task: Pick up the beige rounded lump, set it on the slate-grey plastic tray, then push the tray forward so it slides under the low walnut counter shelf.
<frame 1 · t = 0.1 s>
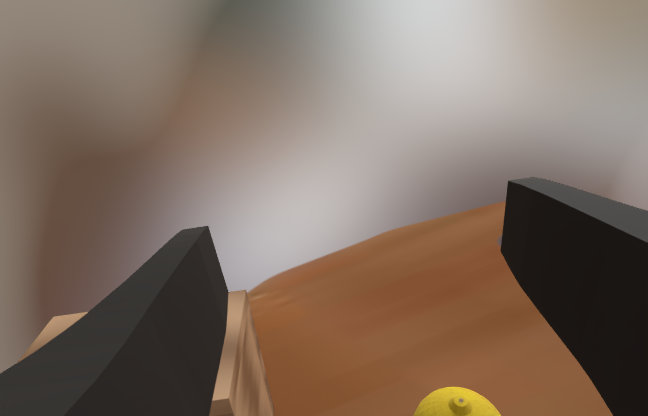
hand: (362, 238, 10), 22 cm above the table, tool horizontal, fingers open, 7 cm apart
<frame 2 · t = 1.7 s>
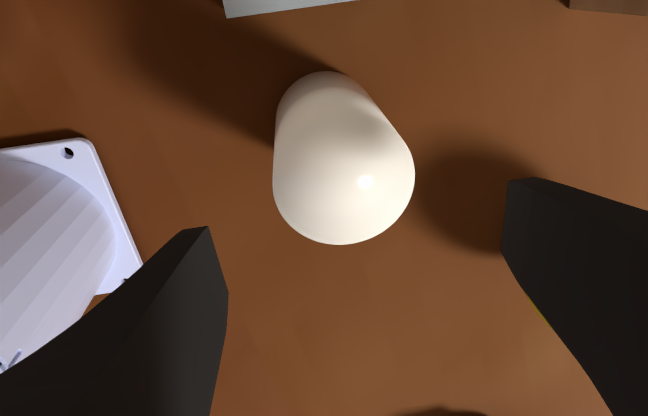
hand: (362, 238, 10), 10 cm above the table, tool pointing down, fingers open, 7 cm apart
beige rounded lump: (325, 122, 18), on the table
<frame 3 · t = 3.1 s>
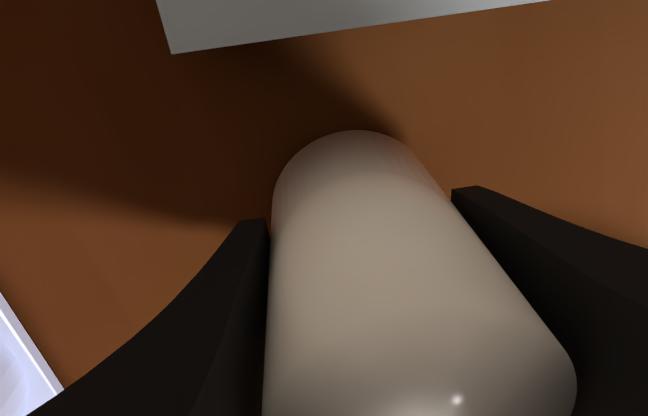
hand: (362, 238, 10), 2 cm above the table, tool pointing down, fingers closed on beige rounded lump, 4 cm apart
beige rounded lump: (352, 206, 11), on the table, touching gripper
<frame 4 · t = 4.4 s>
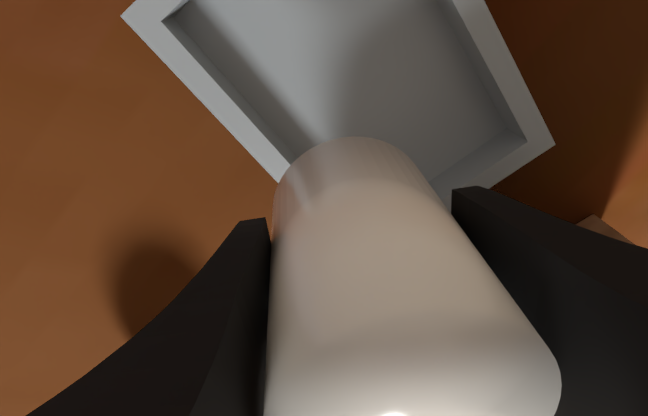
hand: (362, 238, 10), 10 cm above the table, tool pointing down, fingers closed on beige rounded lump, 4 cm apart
tray: (354, 75, 17), on the table
counter shelf: (464, 239, 22), on the table
beige rounded lump: (350, 210, 12), point 8 cm above the table, touching gripper
when the fingers open (3 cm above the table, at t = 6.0 s): beige rounded lump stays where it is, resting on tray.
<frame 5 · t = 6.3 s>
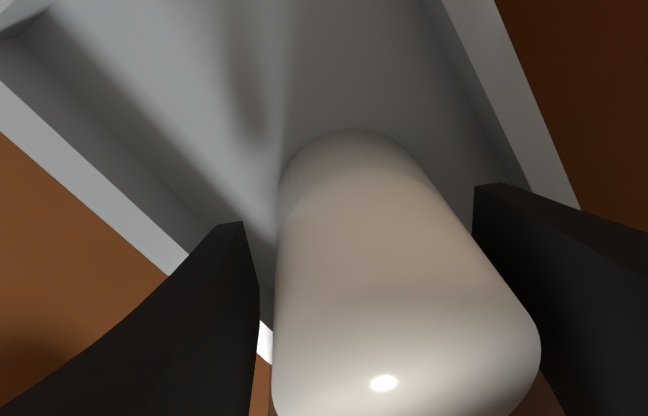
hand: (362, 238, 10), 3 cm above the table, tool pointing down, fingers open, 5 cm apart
tray: (310, 133, 12), on the table, touching beige rounded lump
counter shelf: (458, 344, 17), on the table
beige rounded lump: (351, 199, 12), point 1 cm above the table, touching tray
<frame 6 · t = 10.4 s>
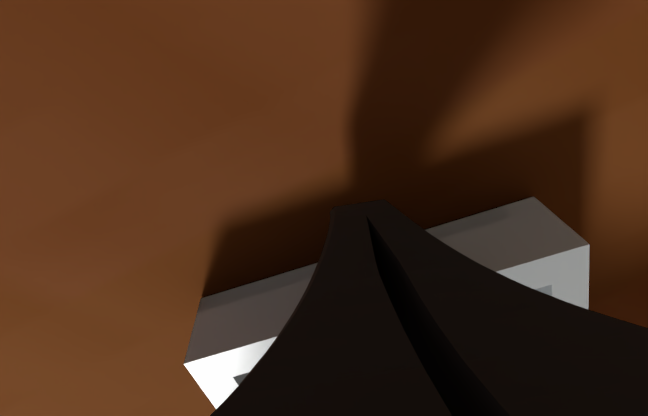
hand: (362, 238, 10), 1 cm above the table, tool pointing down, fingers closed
tray: (410, 396, 15), on the table, touching gripper, beige rounded lump
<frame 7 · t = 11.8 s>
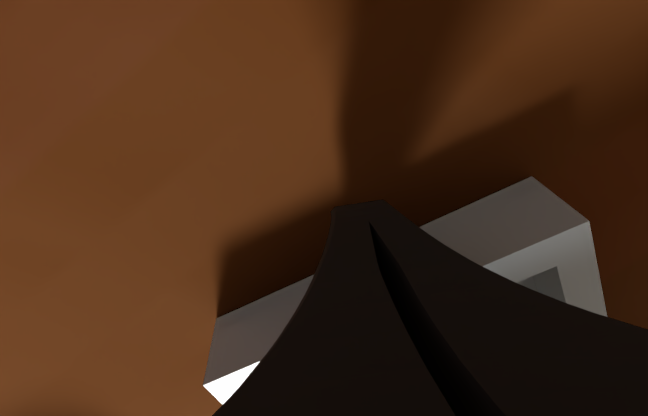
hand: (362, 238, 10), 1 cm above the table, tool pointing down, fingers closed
tray: (439, 388, 15), on the table, touching counter shelf, gripper, beige rounded lump
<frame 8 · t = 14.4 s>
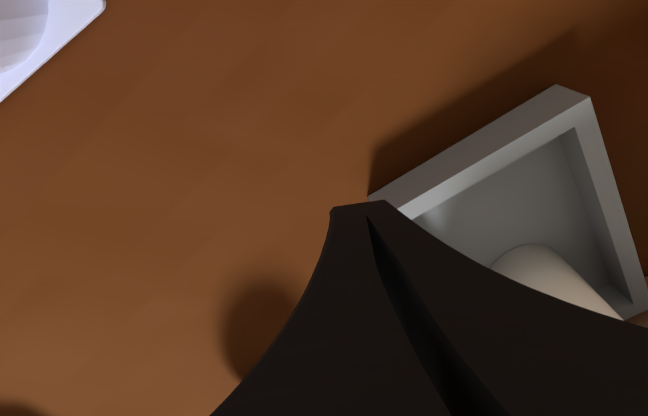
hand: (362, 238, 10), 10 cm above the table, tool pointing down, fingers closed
tray: (506, 242, 23), on the table, touching beige rounded lump
beige rounded lump: (522, 276, 23), point 1 cm above the table, touching tray
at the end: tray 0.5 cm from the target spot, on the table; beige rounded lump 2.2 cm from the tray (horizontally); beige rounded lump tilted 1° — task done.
